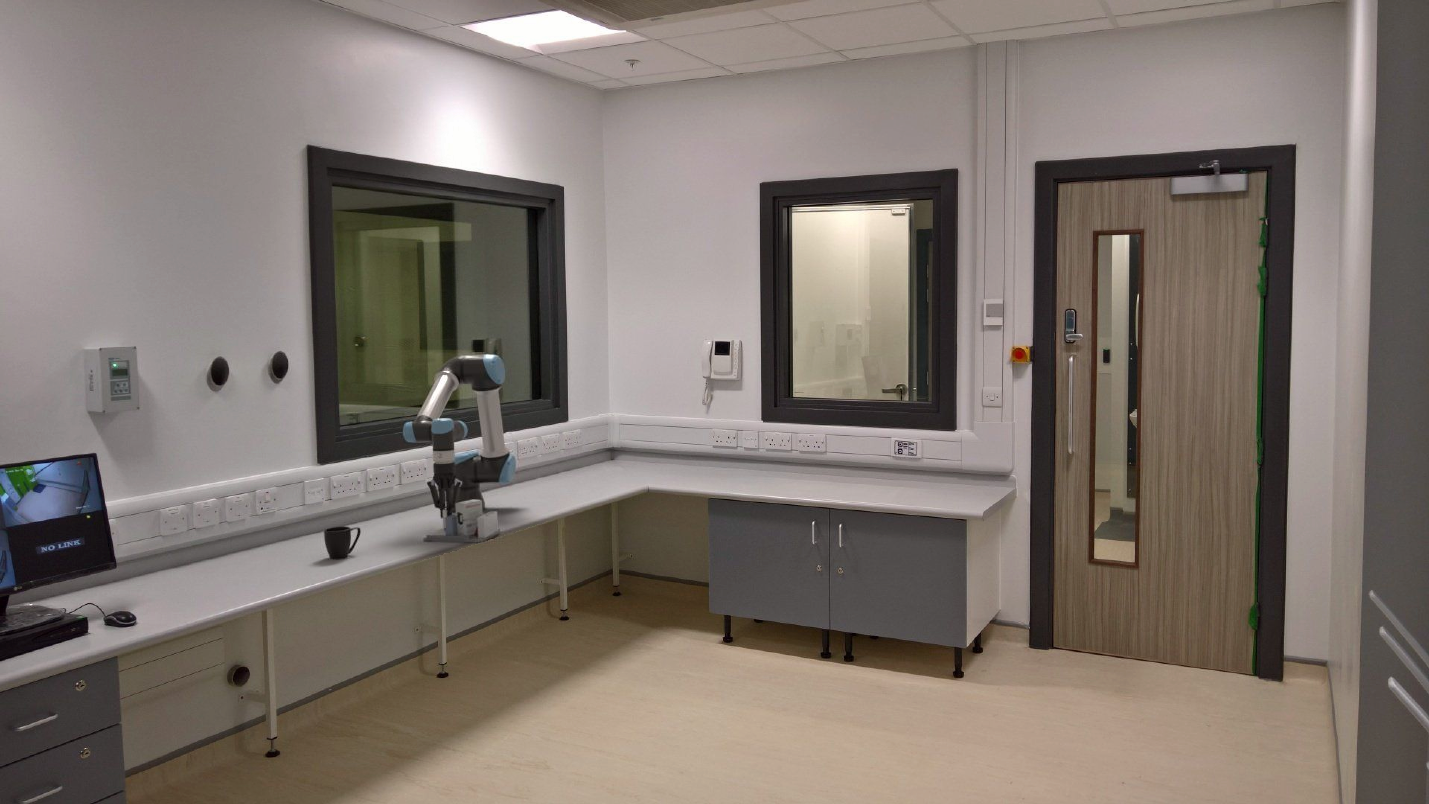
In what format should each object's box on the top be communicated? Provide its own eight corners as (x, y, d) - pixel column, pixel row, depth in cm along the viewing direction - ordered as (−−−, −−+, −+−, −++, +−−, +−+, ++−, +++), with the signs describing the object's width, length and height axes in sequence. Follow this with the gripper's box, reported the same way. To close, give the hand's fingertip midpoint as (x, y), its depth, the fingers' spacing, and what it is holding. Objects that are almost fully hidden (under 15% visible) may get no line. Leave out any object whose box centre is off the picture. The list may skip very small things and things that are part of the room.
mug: (367, 554, 334) (365, 526, 333) (332, 561, 325) (330, 532, 325) (355, 551, 340) (354, 523, 339) (321, 557, 331) (319, 529, 330)
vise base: (443, 531, 368) (442, 509, 367) (500, 532, 364) (499, 510, 364) (423, 541, 352) (422, 518, 352) (482, 542, 349) (481, 519, 348)
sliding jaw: (460, 529, 365) (459, 511, 364) (466, 529, 364) (465, 511, 364) (446, 536, 353) (445, 517, 352) (452, 536, 352) (451, 517, 352)
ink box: (475, 530, 363) (473, 498, 362) (484, 532, 360) (482, 499, 359) (456, 535, 356) (454, 502, 355) (465, 536, 353) (463, 503, 352)
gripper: (422, 463, 354) (425, 529, 356) (456, 463, 352) (459, 529, 354) (431, 460, 362) (434, 524, 364) (465, 460, 360) (468, 525, 362)
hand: (446, 527), depth 359 cm, fingers closed
